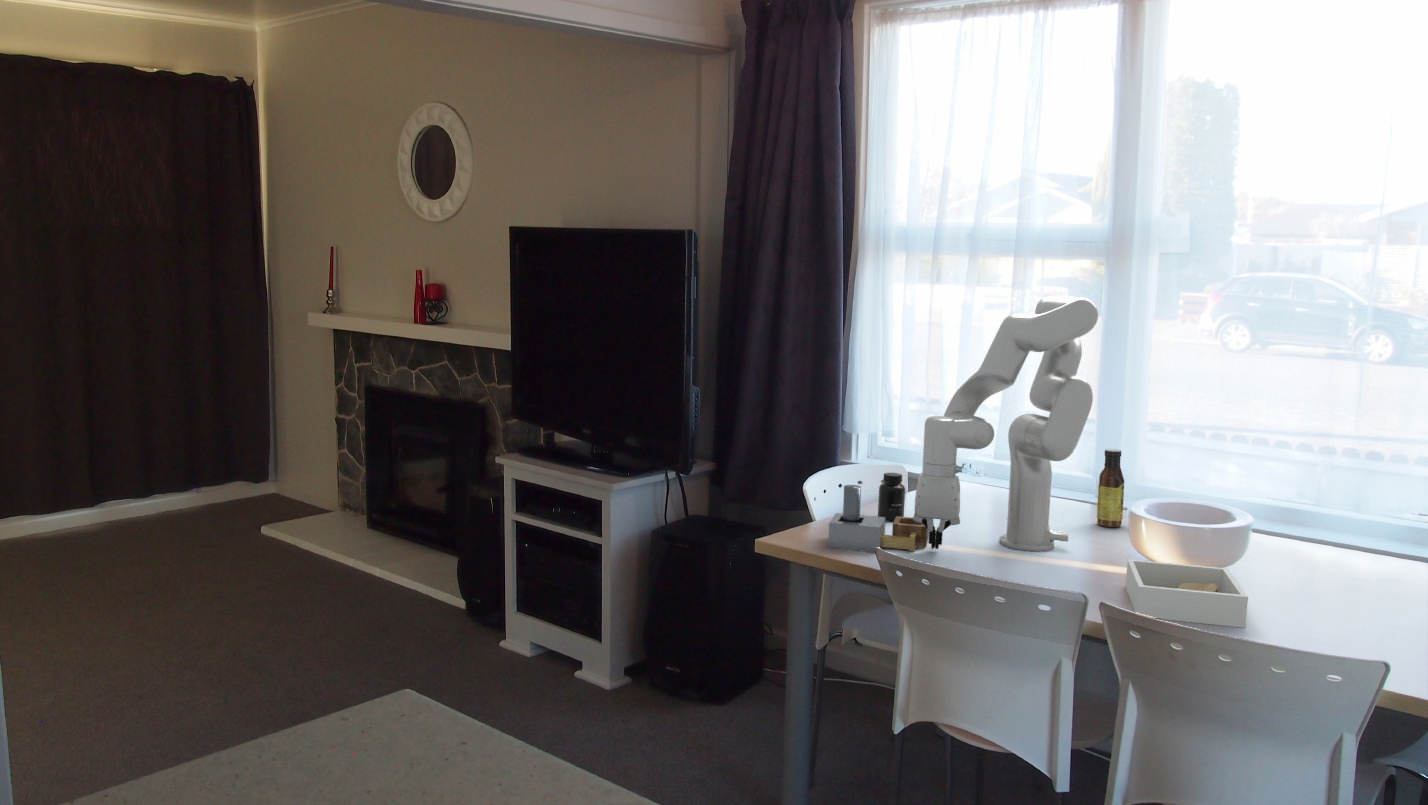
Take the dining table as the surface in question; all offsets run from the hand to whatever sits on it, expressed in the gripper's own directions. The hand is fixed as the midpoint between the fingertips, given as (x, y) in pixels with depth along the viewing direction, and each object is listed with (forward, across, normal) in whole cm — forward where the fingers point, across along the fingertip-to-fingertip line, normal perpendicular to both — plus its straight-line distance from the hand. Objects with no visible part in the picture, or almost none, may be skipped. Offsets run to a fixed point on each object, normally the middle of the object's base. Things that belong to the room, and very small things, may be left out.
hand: (935, 547), depth 238 cm
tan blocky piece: (+1, +9, 0) cm, 9 cm away
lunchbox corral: (+1, -50, +23) cm, 55 cm away
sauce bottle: (+1, -42, -41) cm, 59 cm away
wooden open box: (+1, +6, -7) cm, 10 cm away
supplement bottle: (+1, +13, -28) cm, 31 cm away
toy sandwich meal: (+2, -50, +22) cm, 55 cm away
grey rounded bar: (+1, +20, 0) cm, 20 cm away
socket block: (+1, +18, 0) cm, 18 cm away
